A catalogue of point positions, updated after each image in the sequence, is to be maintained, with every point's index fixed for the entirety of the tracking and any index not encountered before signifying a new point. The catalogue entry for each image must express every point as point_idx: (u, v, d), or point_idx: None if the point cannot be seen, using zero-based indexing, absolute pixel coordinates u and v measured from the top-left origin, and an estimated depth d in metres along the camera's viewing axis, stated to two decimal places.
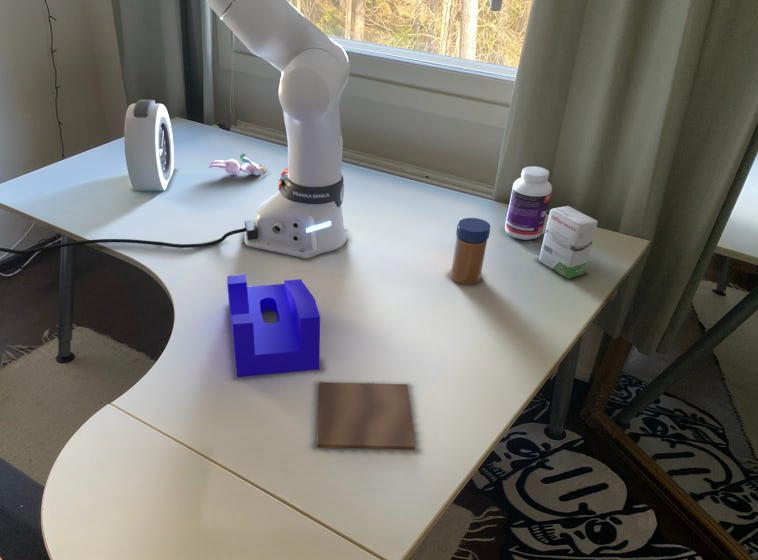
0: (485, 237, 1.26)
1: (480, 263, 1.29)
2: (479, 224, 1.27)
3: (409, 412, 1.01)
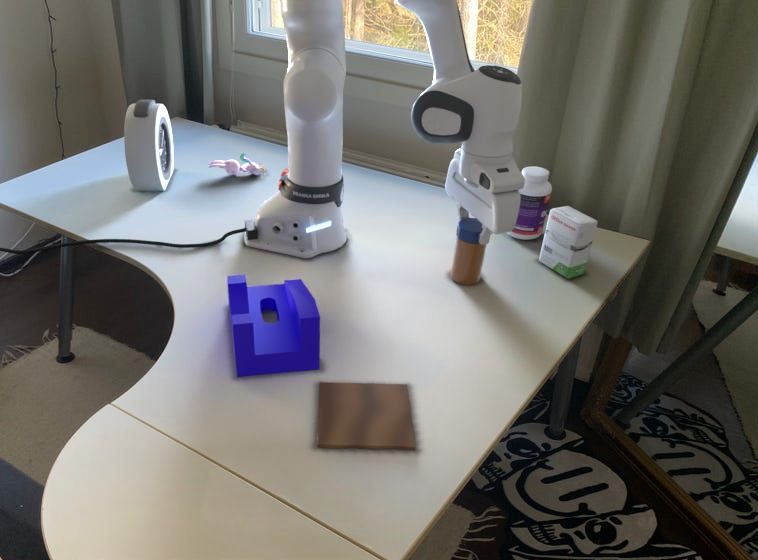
0: None
1: (480, 263, 1.29)
2: (479, 224, 1.27)
3: (409, 412, 1.01)
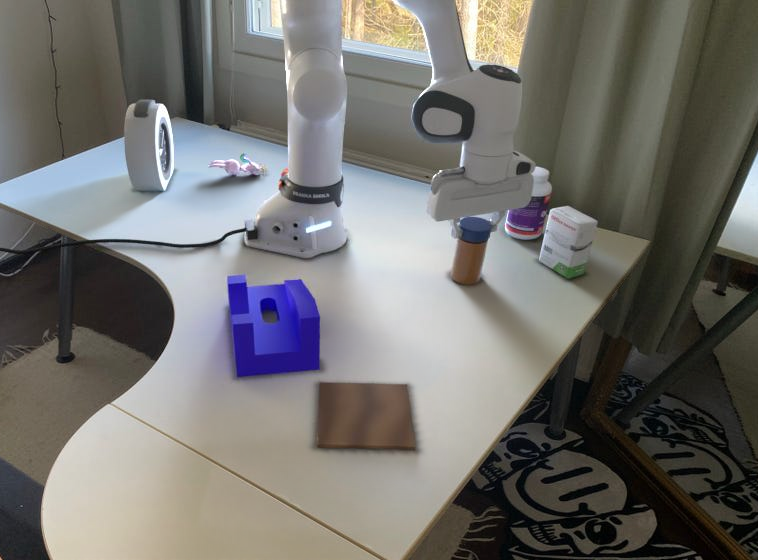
0: None
1: (480, 263, 1.29)
2: (473, 221, 1.27)
3: (409, 412, 1.01)
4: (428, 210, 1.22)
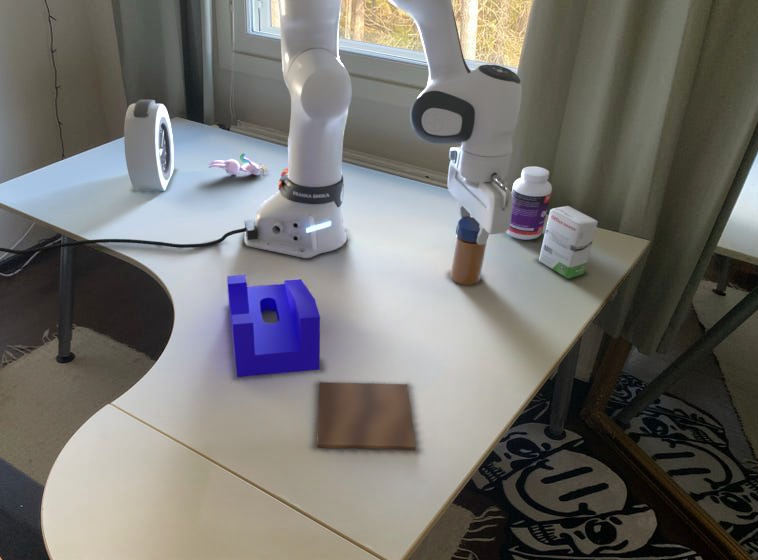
0: None
1: (480, 263, 1.29)
2: (468, 224, 1.26)
3: (409, 412, 1.01)
4: (497, 228, 1.16)
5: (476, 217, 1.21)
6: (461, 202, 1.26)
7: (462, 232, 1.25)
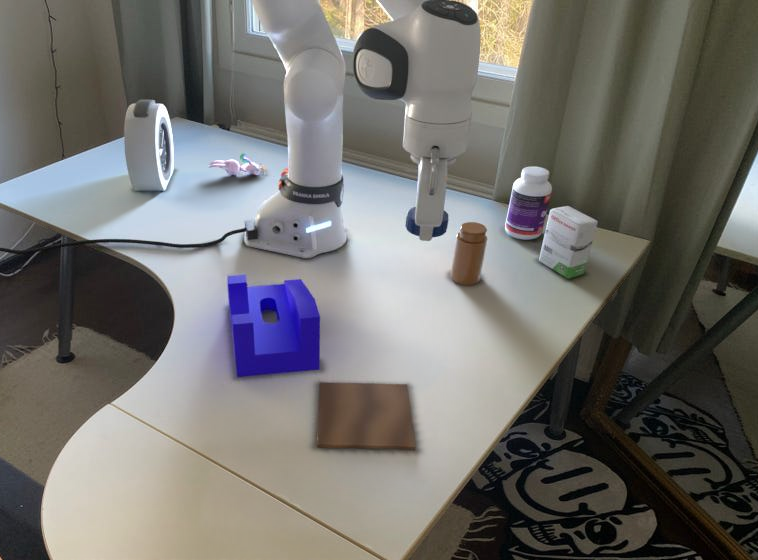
0: None
1: (480, 263, 1.29)
2: None
3: (409, 412, 1.01)
4: (423, 218, 0.88)
5: None
6: (417, 184, 0.99)
7: (408, 222, 0.98)
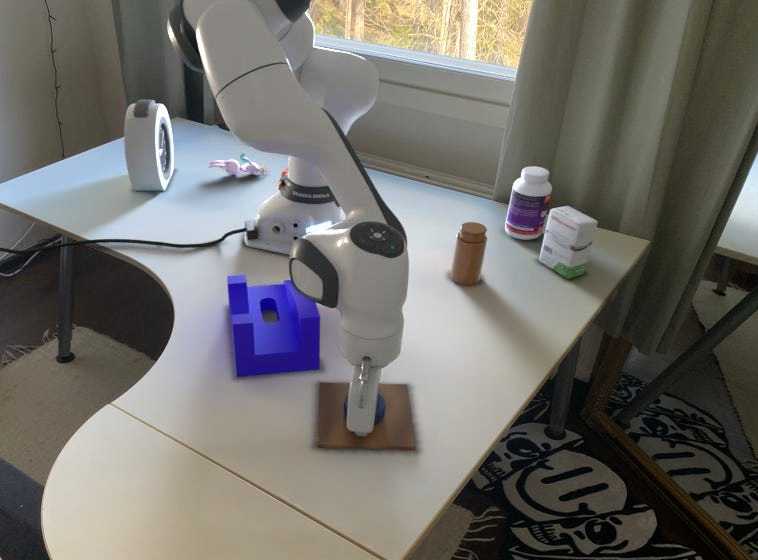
0: None
1: (480, 263, 1.29)
2: None
3: (409, 412, 1.01)
4: (354, 427, 0.89)
5: None
6: None
7: (345, 409, 0.99)
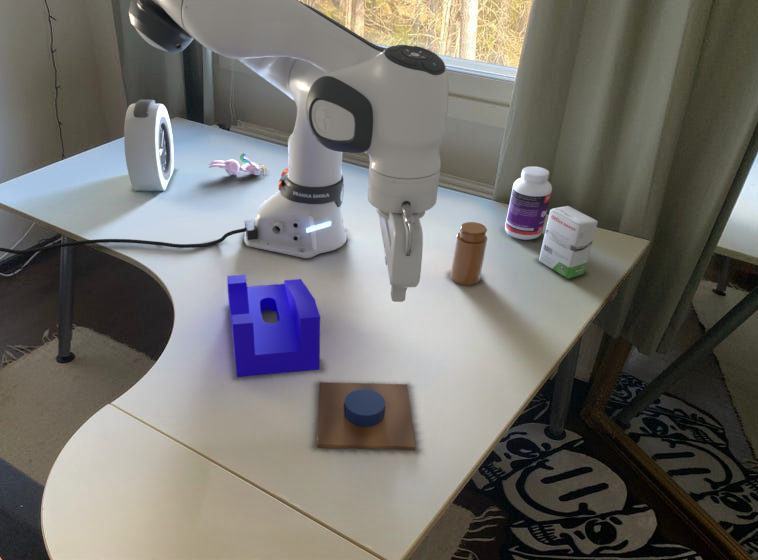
0: None
1: (480, 263, 1.29)
2: (358, 400, 1.00)
3: (409, 412, 1.01)
4: (400, 280, 0.82)
5: (386, 260, 0.87)
6: (382, 236, 0.92)
7: (345, 409, 0.99)
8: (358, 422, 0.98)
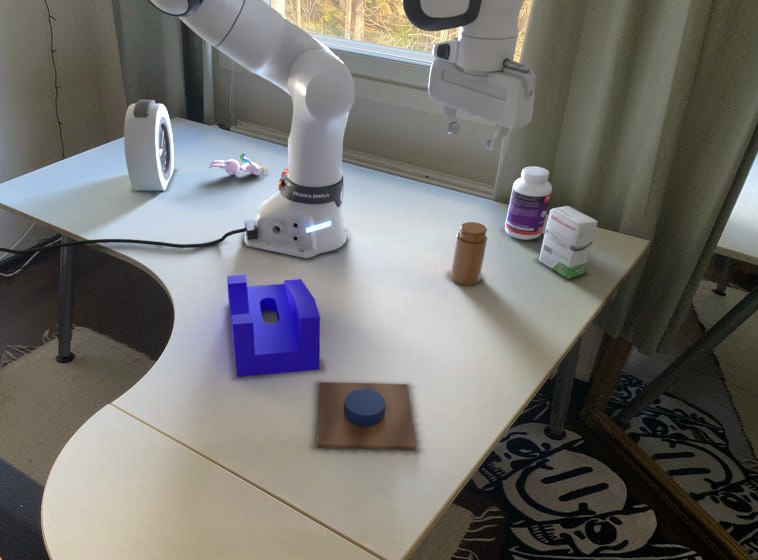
0: None
1: (480, 263, 1.29)
2: (358, 400, 1.00)
3: (409, 412, 1.01)
4: (522, 121, 1.02)
5: (487, 116, 1.06)
6: (456, 105, 1.10)
7: (345, 409, 0.99)
8: (358, 422, 0.98)
